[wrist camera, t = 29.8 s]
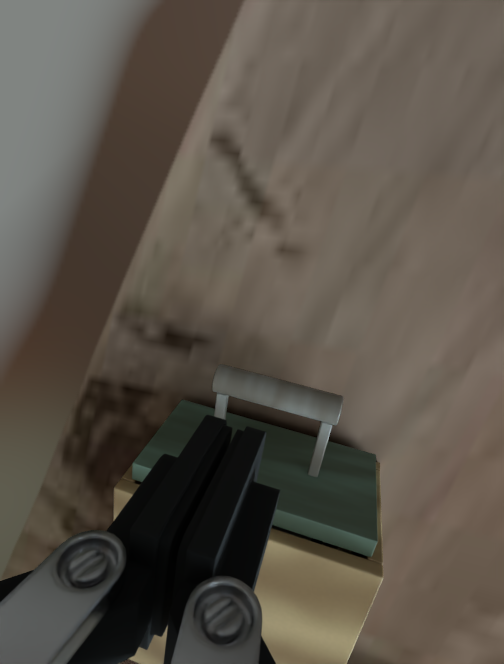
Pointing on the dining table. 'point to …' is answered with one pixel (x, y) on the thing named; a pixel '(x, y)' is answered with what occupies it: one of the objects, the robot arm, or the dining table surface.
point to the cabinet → (299, 594)
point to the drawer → (289, 459)
